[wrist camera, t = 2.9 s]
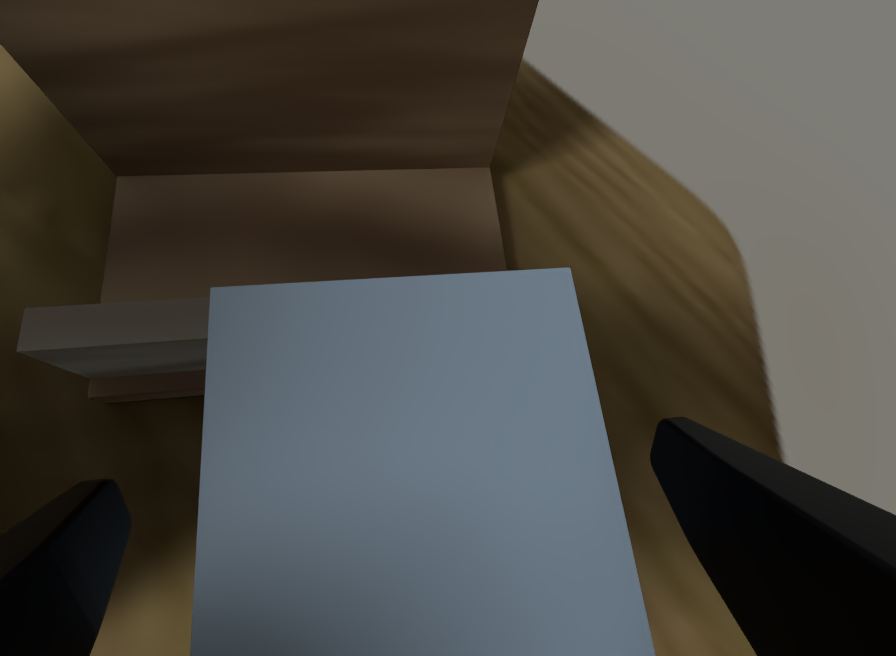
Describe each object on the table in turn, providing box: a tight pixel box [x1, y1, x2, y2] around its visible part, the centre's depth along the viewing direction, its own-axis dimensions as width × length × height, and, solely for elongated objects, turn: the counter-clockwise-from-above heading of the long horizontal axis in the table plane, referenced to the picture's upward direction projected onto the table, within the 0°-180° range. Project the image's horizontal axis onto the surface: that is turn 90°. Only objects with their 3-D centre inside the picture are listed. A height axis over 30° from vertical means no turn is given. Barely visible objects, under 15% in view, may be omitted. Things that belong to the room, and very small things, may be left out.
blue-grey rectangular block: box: [190, 267, 656, 656], centre depth 11 cm, size 5×5×10 cm
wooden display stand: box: [0, 0, 539, 403], centre depth 12 cm, size 10×14×13 cm
